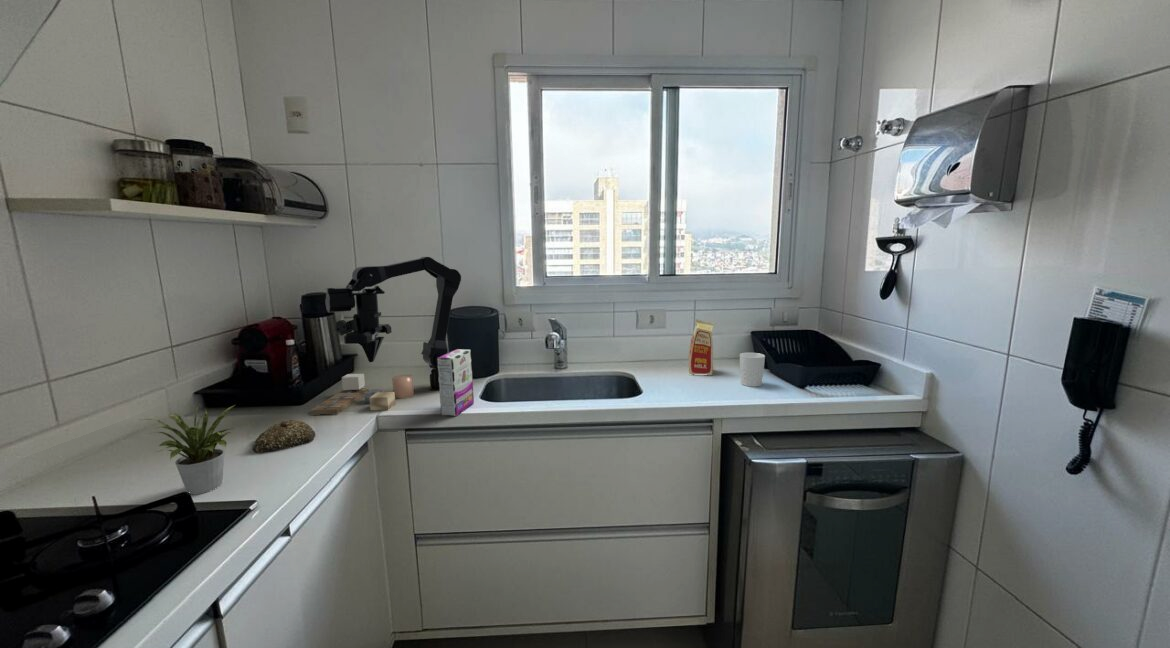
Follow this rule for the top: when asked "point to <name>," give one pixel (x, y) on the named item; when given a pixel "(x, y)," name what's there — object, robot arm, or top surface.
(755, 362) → the white cup
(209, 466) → the house plant
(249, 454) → the top surface
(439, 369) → the candy bar box
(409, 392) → the pink pillar candle
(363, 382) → the white block
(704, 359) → the milk carton
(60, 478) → the top surface
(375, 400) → the oak block
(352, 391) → the board
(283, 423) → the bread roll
